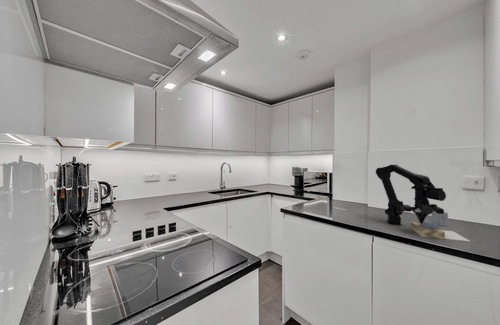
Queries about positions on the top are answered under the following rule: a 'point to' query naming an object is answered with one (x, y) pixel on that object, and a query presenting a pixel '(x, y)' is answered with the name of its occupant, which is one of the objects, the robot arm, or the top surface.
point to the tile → (430, 225)
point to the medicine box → (440, 218)
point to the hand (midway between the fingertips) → (421, 223)
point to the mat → (454, 236)
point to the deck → (427, 231)
